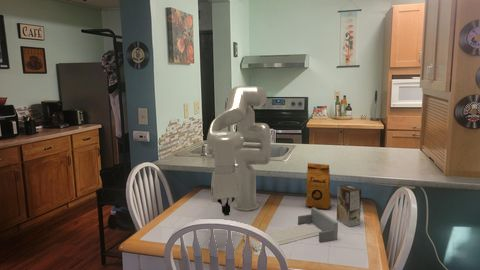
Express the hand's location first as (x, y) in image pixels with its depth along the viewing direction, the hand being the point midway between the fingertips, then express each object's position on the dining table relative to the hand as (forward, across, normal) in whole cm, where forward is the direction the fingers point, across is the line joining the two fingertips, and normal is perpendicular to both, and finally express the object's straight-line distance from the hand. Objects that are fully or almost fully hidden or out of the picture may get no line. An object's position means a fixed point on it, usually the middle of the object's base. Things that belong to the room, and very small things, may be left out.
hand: (226, 214), depth 139 cm
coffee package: (+15, -55, -25) cm, 62 cm away
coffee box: (+14, -57, -3) cm, 59 cm away
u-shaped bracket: (+14, -38, +1) cm, 41 cm away
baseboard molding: (+14, -23, +2) cm, 27 cm away
